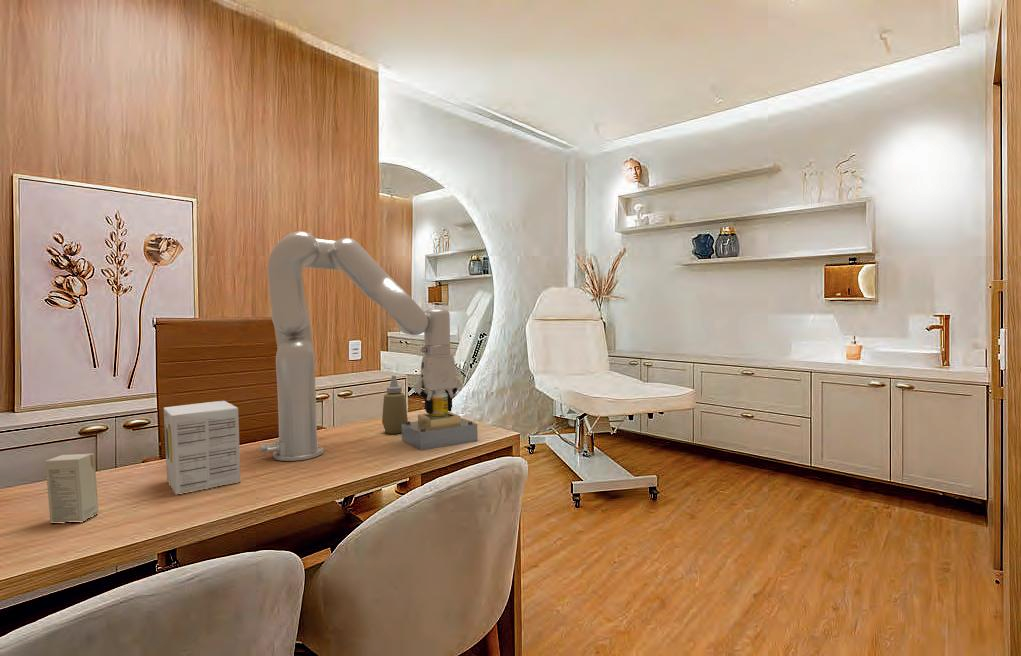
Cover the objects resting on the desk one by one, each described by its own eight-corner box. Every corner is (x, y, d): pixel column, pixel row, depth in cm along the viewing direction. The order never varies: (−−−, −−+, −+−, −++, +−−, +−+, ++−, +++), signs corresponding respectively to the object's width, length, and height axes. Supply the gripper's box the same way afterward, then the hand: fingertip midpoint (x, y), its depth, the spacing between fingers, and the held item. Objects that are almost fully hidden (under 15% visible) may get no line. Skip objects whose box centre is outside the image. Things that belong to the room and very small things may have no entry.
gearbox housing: (420, 450, 148) (420, 423, 148) (401, 440, 160) (401, 415, 160) (477, 440, 158) (477, 415, 158) (456, 431, 170) (455, 408, 169)
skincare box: (99, 514, 105) (96, 452, 104) (82, 523, 100) (79, 459, 100) (66, 515, 104) (62, 453, 104) (47, 524, 100) (44, 459, 100)
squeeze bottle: (379, 430, 172) (378, 375, 171) (404, 428, 176) (403, 373, 175) (385, 436, 165) (383, 378, 164) (410, 433, 168) (409, 376, 168)
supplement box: (165, 481, 124) (162, 406, 124) (228, 469, 133) (225, 399, 132) (174, 496, 114) (171, 415, 113) (241, 483, 123) (239, 407, 122)
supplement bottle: (432, 416, 161) (431, 384, 161) (449, 416, 161) (449, 384, 160) (428, 419, 156) (427, 387, 156) (446, 420, 156) (445, 387, 155)
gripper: (415, 353, 150) (416, 417, 151) (469, 349, 159) (470, 410, 160) (405, 351, 156) (406, 413, 157) (457, 348, 166) (458, 406, 166)
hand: (438, 411), depth 158 cm, fingers closed on supplement bottle, 5 cm apart
